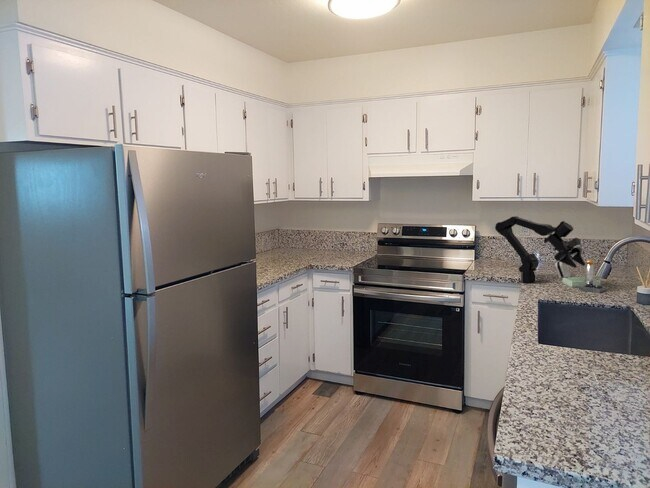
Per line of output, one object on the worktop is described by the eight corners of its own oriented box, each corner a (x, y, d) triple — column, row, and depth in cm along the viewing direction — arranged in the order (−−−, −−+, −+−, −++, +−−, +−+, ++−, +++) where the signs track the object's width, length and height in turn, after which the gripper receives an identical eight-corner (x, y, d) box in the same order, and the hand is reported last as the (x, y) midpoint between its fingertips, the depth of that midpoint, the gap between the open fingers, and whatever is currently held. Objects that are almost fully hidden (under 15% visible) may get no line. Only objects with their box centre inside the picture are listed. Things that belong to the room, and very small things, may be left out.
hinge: (569, 278, 261) (562, 262, 262) (560, 281, 264) (554, 264, 265) (571, 274, 275) (565, 258, 276) (563, 276, 278) (556, 260, 279)
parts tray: (572, 287, 238) (572, 281, 237) (562, 283, 250) (562, 277, 249) (600, 286, 236) (600, 281, 236) (589, 282, 248) (589, 277, 248)
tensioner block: (579, 290, 230) (579, 284, 230) (585, 288, 234) (585, 282, 234) (599, 292, 222) (599, 286, 222) (605, 290, 227) (605, 284, 226)
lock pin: (587, 291, 228) (587, 261, 226) (583, 289, 231) (583, 260, 230) (595, 291, 227) (596, 261, 226) (591, 289, 231) (592, 259, 230)
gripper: (560, 234, 229) (583, 257, 221) (578, 231, 240) (600, 253, 232) (545, 249, 236) (567, 272, 228) (563, 245, 247) (584, 267, 239)
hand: (580, 266), depth 232 cm, fingers open, 9 cm apart
